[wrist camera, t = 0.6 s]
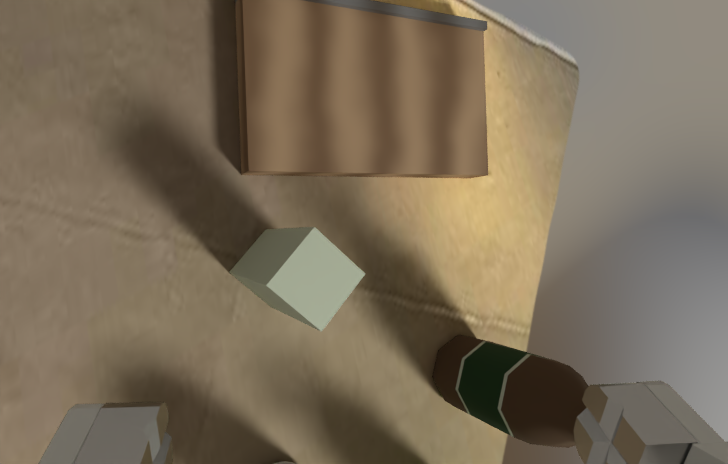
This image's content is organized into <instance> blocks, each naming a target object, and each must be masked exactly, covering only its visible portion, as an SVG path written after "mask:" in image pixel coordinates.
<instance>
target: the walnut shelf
mask: <svg viewBox="0 0 728 464" xmlns="http://www.w3.org/2000/svg"><path fill="white" fill-rule="evenodd" d="M235 16H236V43H237V71H238V98H239V125H240V153H241V175H288V176H357V177H426V178H474V177H480V176H486V175H488V155H487V125H486V95H485V64H484V34H483V31H485V30H487V21H482V20H476V19H471V18H465V17H460V16H454V15H449V14H443V13H438V12H432V11H427V10H421V9H416V8H410V7H405V6H399V5H394V4H388V3H383V2H378V1H372V0H235Z"/></svg>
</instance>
